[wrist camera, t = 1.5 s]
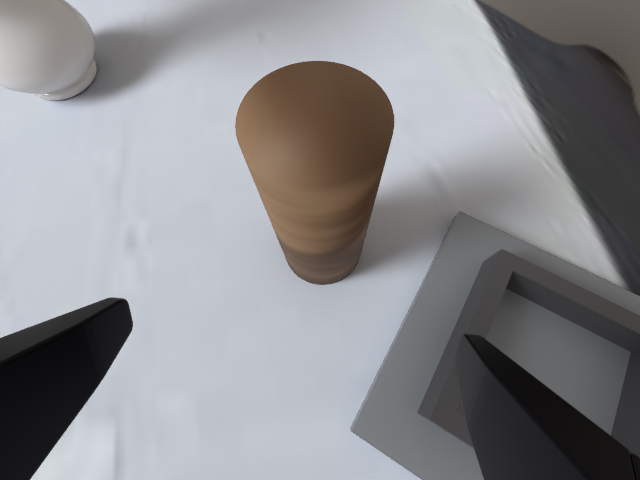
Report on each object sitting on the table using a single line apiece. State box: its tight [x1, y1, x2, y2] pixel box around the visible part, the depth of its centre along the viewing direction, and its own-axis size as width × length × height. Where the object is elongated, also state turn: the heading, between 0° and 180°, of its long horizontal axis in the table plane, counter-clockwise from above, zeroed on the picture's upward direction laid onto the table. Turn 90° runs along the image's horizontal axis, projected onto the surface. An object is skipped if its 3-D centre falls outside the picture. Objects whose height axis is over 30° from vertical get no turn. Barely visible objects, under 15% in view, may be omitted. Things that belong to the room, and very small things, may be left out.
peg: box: [235, 61, 394, 285], centre depth 17 cm, size 6×6×13 cm
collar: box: [350, 212, 640, 480], centre depth 18 cm, size 16×16×4 cm
